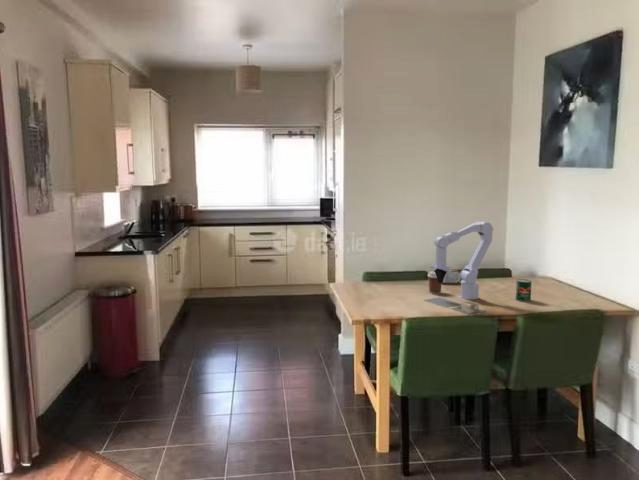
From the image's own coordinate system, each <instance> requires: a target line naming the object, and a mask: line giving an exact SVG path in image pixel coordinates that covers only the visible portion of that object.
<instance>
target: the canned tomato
mask: <svg viewBox="0 0 639 480" xmlns="http://www.w3.org/2000/svg"><path fill="white" fill-rule="evenodd" d="M532 282H533V281H532V280H531V279H527V278H526V279H525V278H517V279H516V282H515V283H516V285H515V301H517V300H518V302H523V301H528V302H531V299H532V298H531V297H532Z"/></svg>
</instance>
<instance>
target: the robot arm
mask: <svg viewBox="0 0 639 480" xmlns="http://www.w3.org/2000/svg"><path fill="white" fill-rule="evenodd" d="M474 232H475V233H477V234H478V236H479V237H480V241H479V244H477V245H478V246H477V247H476V249H475V251H474V253H473V255H472V257H471V259H470V261H469V263H468V264H467V265H466V266H465V267H464V268H463V269H462V270H461V271H460V278H461V279H462V280H461V281H460V283H461V285H460V286H461V287H460V295H458V296H457V298H460V299H463V300H467V301H468V300H478V299H480V297H479V295H480V294H479V291H480V287H479V286H480V285H479V284H478V283H477V279H478V275H479V267H480V265H481V263H482V261H483V259H484V257H485V255H486V253H487V251H488V249H489V248H490V245H491V244H492V241H493V232H494V227H493V225H492V224H491V223H490V222H487V221H482V220H478V221H476V222H473V223H471V224H470V225H468V226H466V227H464V228H462V229H460V230H450V231H449V232H448V233H446V234H442V236H437V237H436V239H435V240H434V245H435V264H433V263H432V264H430V269H434V272H435V274H436V276H437V280H438V283H442V284H444V283H443V279H444V276H445V274H446V273H447V272H451V270H452V268H451V267H449V266H447V253H448V251H447V247H448V246H449V245H451V244H453V243H455V242H458V241H459V240H460V239H461V237H463V236H466V235H469V234H472V233H474Z"/></svg>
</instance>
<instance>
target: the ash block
mask: <svg viewBox="0 0 639 480" xmlns="http://www.w3.org/2000/svg"><path fill="white" fill-rule="evenodd" d="M460 304H461V310H462V311H465V312H468V313H473V312H478V311H479V309H480V308H479V307H480V306H479V305H480V304H479V303H477V302H474V301H463V302H461V303H460Z"/></svg>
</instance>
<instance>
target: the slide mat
mask: <svg viewBox="0 0 639 480" xmlns="http://www.w3.org/2000/svg"><path fill="white" fill-rule="evenodd" d="M423 301H424V302H428V303H431V304H435V305H437V306H441V307H443V308H446V309H450V310H453V311H455V312H459V313H462V314H465V315H467V316H472V315H478V314H484V313H486V312H487V311H485V310H483V309H480V308H479V311H478V312H473V313H468V312H465V311H462V310H461V303H459V302H455V301H452V300H449V299H446V298H443V297H434V298H433V297H432V298H427V299H423Z"/></svg>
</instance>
